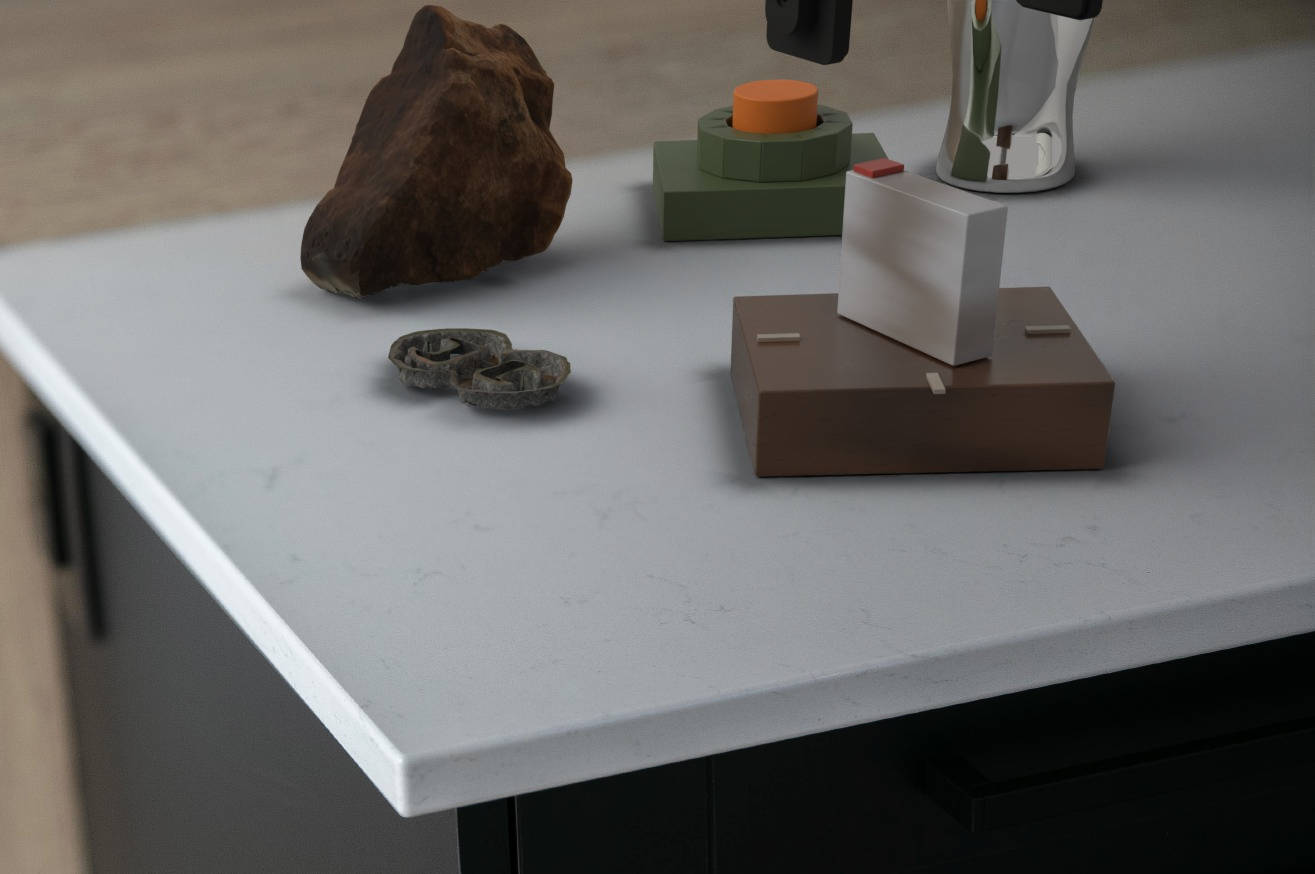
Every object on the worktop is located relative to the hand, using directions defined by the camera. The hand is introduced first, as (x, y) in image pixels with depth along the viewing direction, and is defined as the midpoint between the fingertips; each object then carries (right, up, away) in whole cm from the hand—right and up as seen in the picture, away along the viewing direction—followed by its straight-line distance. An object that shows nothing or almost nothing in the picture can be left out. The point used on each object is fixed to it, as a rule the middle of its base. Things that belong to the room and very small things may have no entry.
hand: (934, 33), depth 61 cm
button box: (+1, +1, +28) cm, 28 cm away
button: (+1, +4, +26) cm, 26 cm away
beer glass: (+12, +3, +30) cm, 33 cm away
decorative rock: (-14, -3, +23) cm, 27 cm away
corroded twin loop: (-13, -9, +12) cm, 20 cm away
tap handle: (+1, -8, +5) cm, 10 cm away
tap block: (+1, -11, +7) cm, 13 cm away
